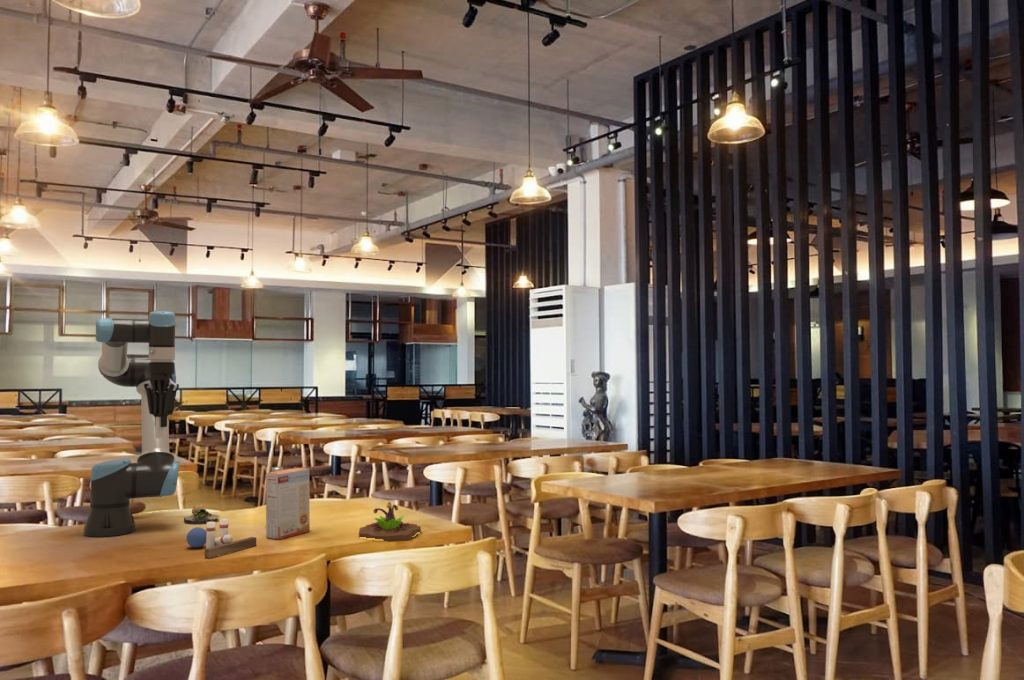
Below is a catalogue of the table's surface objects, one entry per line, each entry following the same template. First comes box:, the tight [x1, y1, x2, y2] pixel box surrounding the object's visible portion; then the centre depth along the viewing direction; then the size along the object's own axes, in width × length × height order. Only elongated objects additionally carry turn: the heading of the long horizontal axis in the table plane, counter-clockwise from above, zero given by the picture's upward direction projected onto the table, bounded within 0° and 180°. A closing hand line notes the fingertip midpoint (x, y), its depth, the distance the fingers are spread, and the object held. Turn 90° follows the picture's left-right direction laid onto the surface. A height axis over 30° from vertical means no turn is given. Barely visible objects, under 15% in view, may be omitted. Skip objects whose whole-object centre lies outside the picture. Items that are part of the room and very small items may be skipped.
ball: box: [186, 526, 207, 549], centre depth 242 cm, size 6×6×6 cm
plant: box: [358, 502, 422, 543], centre depth 260 cm, size 20×20×11 cm
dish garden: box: [183, 502, 220, 525], centre depth 282 cm, size 12×12×8 cm
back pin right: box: [205, 521, 216, 549], centre depth 237 cm, size 2×2×8 cm
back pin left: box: [219, 518, 229, 537], centre depth 241 cm, size 2×2×8 cm
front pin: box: [215, 533, 234, 546], centre depth 239 cm, size 2×2×8 cm
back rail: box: [204, 536, 257, 559], centre depth 237 cm, size 2×18×2 cm, turn 154°
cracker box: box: [265, 467, 311, 540], centre depth 260 cm, size 14×6×21 cm, turn 150°
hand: (160, 437), depth 248 cm, fingers closed
